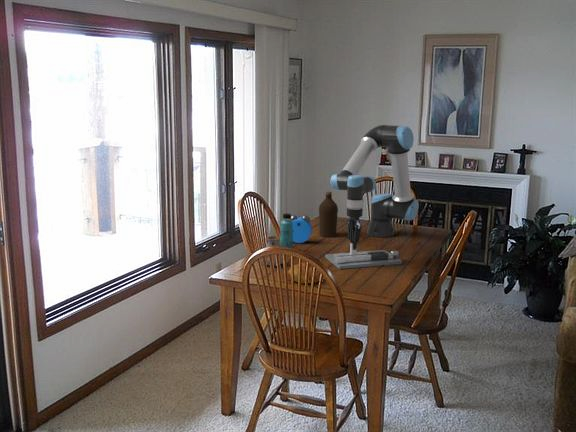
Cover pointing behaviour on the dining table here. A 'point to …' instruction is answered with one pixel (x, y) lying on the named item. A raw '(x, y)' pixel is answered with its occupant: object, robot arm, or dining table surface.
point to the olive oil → (328, 217)
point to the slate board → (363, 263)
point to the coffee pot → (273, 242)
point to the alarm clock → (301, 228)
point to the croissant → (302, 273)
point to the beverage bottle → (286, 231)
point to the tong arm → (358, 254)
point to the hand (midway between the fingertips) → (353, 255)
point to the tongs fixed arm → (367, 257)
